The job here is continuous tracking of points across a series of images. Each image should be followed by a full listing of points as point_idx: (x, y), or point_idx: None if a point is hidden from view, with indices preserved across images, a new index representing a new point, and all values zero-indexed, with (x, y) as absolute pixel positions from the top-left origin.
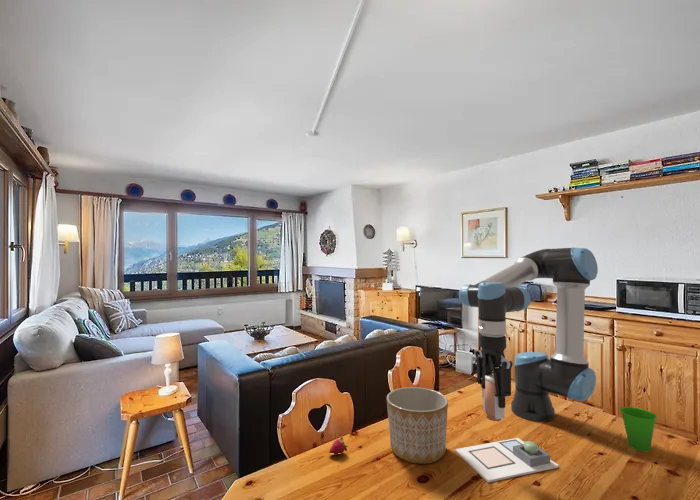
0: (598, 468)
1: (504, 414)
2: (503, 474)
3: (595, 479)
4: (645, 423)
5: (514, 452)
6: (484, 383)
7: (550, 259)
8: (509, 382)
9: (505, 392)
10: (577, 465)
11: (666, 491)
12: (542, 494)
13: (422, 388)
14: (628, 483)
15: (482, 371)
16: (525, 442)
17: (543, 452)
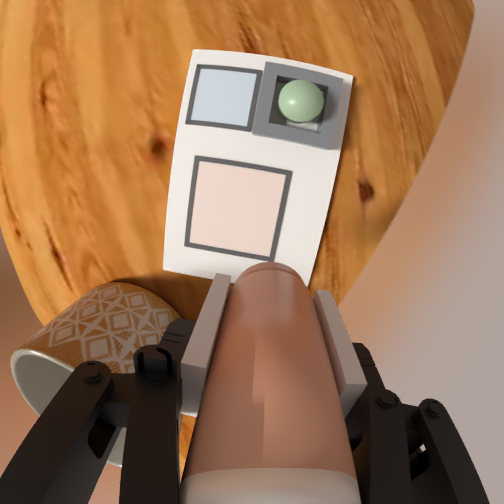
0: (388, 15)
1: (334, 301)
2: (309, 245)
3: (413, 62)
4: None
5: (259, 135)
6: (178, 448)
7: None
8: (469, 488)
9: (423, 452)
10: (363, 34)
11: (466, 20)
12: (393, 218)
13: (14, 361)
14: (439, 33)
15: (76, 486)
16: (284, 104)
17: (325, 81)
